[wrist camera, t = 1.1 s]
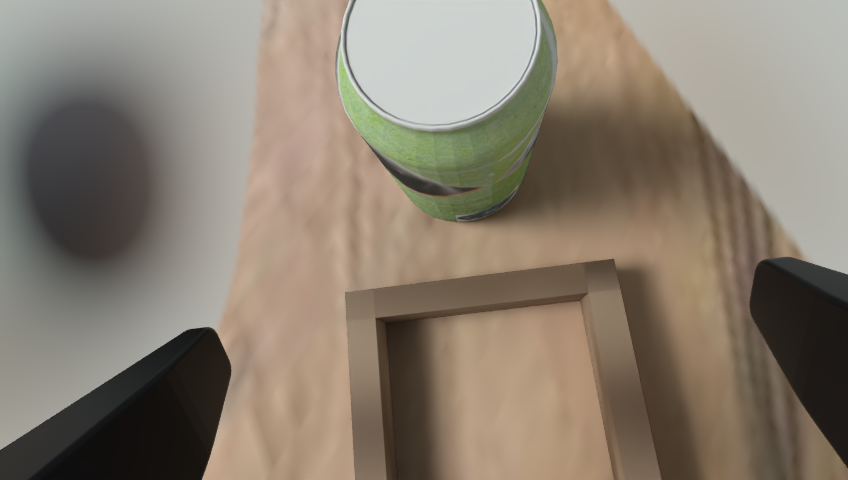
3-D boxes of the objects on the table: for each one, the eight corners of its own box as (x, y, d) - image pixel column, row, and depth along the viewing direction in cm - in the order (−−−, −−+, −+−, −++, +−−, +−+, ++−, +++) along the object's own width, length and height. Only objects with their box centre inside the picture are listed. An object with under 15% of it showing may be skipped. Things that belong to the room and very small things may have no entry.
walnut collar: (669, 588, 18) (690, 613, 16) (376, 604, 19) (363, 629, 17) (602, 269, 21) (614, 258, 19) (357, 299, 22) (344, 292, 20)
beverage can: (505, 96, 24) (515, -159, 13) (553, 234, 22) (618, 76, 10) (383, 132, 24) (285, -84, 13) (418, 271, 22) (338, 159, 11)
